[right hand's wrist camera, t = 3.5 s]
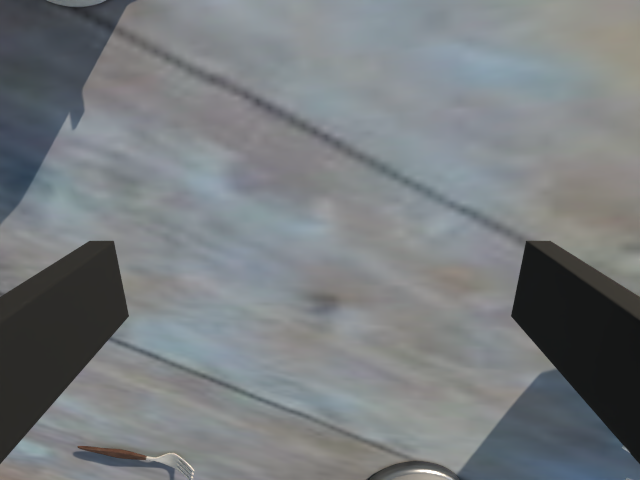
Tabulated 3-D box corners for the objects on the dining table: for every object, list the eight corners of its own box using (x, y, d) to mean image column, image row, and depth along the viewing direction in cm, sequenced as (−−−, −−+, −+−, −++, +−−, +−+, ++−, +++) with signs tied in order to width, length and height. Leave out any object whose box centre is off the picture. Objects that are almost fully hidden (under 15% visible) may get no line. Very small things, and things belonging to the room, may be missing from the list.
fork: (80, 436, 52) (71, 449, 50) (198, 456, 53) (194, 469, 51) (79, 450, 52) (70, 463, 51) (196, 470, 54) (192, 483, 52)
